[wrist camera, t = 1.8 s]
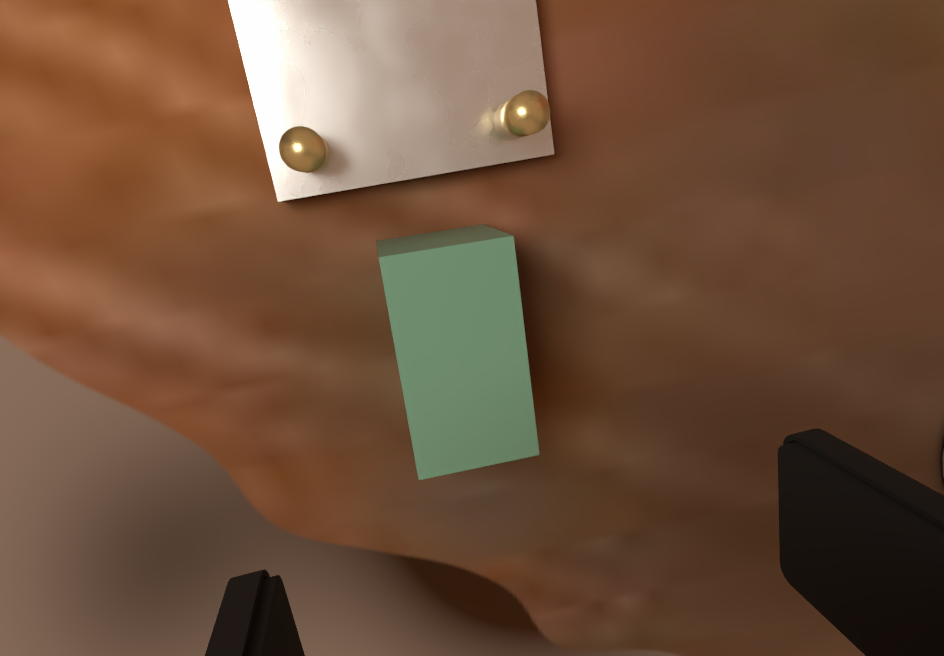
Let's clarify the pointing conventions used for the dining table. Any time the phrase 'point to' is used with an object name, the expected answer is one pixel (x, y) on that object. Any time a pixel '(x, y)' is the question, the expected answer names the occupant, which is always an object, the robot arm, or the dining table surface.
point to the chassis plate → (392, 88)
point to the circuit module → (460, 347)
